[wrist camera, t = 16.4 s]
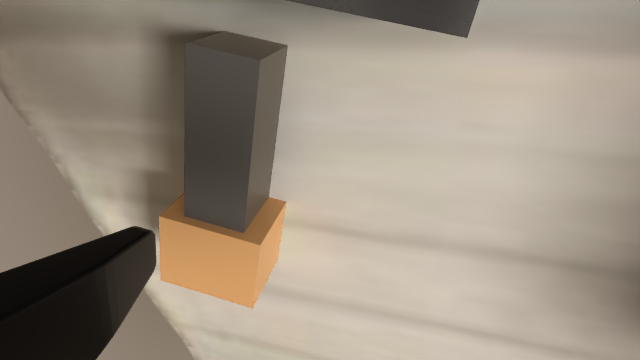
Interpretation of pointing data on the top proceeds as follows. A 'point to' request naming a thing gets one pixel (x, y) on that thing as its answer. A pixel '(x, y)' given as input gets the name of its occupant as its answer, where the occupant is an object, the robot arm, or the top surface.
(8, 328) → the robot arm
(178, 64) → the top surface
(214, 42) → the plug
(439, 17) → the housing
